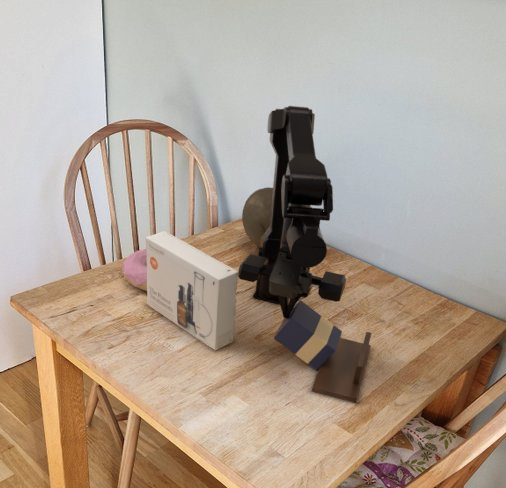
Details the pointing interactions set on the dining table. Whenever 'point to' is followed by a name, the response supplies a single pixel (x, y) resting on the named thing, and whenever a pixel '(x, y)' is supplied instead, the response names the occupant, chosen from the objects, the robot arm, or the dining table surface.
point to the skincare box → (191, 289)
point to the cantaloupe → (257, 214)
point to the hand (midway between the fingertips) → (286, 317)
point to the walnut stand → (343, 370)
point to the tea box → (308, 335)
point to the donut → (136, 269)
